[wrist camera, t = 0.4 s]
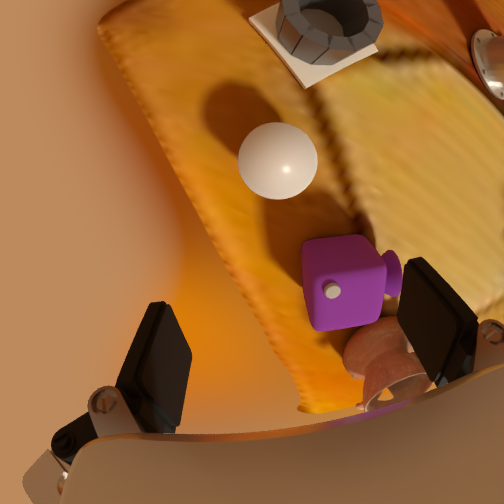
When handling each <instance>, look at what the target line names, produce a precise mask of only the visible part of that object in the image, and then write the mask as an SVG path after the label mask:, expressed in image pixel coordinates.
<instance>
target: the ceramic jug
mask: <svg viewBox="0 0 504 504" xmlns="http://www.w3.org/2000/svg"><path fill="white" fill-rule="evenodd" d="M412 351H413V348H412V346H411V344H410V342H409V341H408V339H407V337H406V335H405V334H404V332H403V330H402V329H401V327H400V325H399V323H398V321H397V316H386V317H381V318H378V319H377V320H376V321H375V322H373V323H370V324H366V325H364V326H362V327H361V328H360V329H358V330H357V331H356V332H355V333H354V334H353V335H352V336H351V337H350V339H349V340H348V342H347V343H346V345H345V349H344V352H343V357H342V360H343V365H344V367H345V369H346V370H347V371H348V372H349V373H350V374H351V375H352V377H353V378H362V379H365V380H364V386H363V401H362V402H361V403H357V404H356V408H357V409H359V410H363V409H364V411H365V412H368V411H372V410H375V409H379V408H382V407H386V406H389V405H392V404H395V403H398V402H401V401H404V400H407V399H410V398H412V397H415V396H418V395H420V394H423V393H425V392H427V391H428V390H429V389H430V388H431V386H432V385H433V383H434V382H431V381H430V379H429V378H428V376H427V374H426V372H425V370H424V368H423V366H422V364H421V362H420V360H419V359H418V357H417V355H416V353H415V352H412ZM385 388H388V389H389V390H390V391H391V393H392V395H393V396H394V398H393V399H391V400H388V401H379V400H377V399H378V398H379V396H380V395H381V393H382V392H383V390H384V389H385Z"/></svg>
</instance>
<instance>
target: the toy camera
mask: <svg viewBox="0 0 504 504" xmlns="http://www.w3.org/2000/svg"><path fill="white" fill-rule="evenodd" d="M301 263H302V281H303V293H304V298H305V302H306V307H307V311H308V315H309V319H310V322H311V325H312V327H313V328H314V329H315V330H316V331H331V330H337V329H344V328H349V327H355V326H361V325H366V324H370V323H373V322H375V321H376V320H377V319H378V318H379V316H380V312H381V308H382V303H383V298H384V293H386V294H388V295H389V296H392V297H396V296H398V295H399V293H400V291H401V287H402V280H403V278H402V269H401V264H400V261H399V259H398V256H397V255H396V253H395V252H394V251H393V250H388V251H386V252H385V253H384V254H383V255H382V256H380V254H379V253H378V252H377V250H376V249H375V248H374V247H373V245H372V244H371V243H370V242H369V241H368V239H367V238H366V237H364V236H363V235H359V234H353V235H343V236H334V237H325V238H318V239H311V240H308V241H305V242H304V243H303V245H302V249H301Z"/></svg>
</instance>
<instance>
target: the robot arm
mask: <svg viewBox="0 0 504 504" xmlns="http://www.w3.org/2000/svg"><path fill="white" fill-rule="evenodd" d="M471 52H472V57H473V61H474V64H475V67H476V70H477V72H478V74H479V76H480V78H481V80H482V82H483V83H484V85H485V87H486V88H487V89H488V90H489V92H490V93H492V94H493V95H494V96H495V97H497V98H499V99H501V100H504V36H497V35H496V34H494V33H493V32H491V31H489V30H486V29H481V30H477V31H476V32H474V34H473V36H472V39H471ZM477 319H478V317H477V316H476V315H475V314H474V312H473V311H472V310H471V309H470V308H469V306H468V305H467V304H466V303H465V302H464V301H463V300H462V298H461V297H460V296H459V295H458V294H457V293H456V292H455V291H454V290H453V288H452V287H451V286H450V285H449V284H448V283H447V282H446V281H445V280H444V279H443V278H442V277H441V276H440V275H439V274H438V273H437V271H436V270H435V269H434V268H433V267H432V266H431V265H430V264H429V263H428V262H427V261H426V260H425V259H424V258H422V257H418V258H413V259H409V260H408V262H407V264H405V266H404V272H403V280H402V287H401V294H400V301H399V307H398V313H397V321H398V323H399V325H400V327H401V329H402V330H403V332H404V334H405V335H406V337H407V339H408V341H409V342H410V344H411V346H412V348H413V350H414V351H415V353H416V355H417V357H418V359H419V360H420V362H421V364H422V366H423V368H424V370H425V372H426V374H427V376H428V378H429V379H430V381H431V382H434V383H435V385H436V387H437V388H436V389H433V390H430V391H428V392H425V393H423V394H420V395H418V396H415V397H412V398H410V399H407V400H404V401H401V402H398V403H395V404H392V405H389V406H386V407H382V408H379V409H375V410H372V411H368V412H365V413H361V414H357V415H354V416H350V417H345V418H341V419H336V420H332V421H327V422H322V423H317V424H311V425H306V426H299V427H293V428H286V429H278V430H269V431H259V432H249V433H248V432H247V433H233V434H232V433H231V434H164V433H175V430H176V426H179V425H180V421H181V415H182V409H183V404H184V399H185V393H186V388H187V382H188V376H189V372H190V366H191V361H192V352H191V349H190V347H189V345H188V343H187V341H186V339H185V337H184V335H183V332H182V330H181V328H180V326H179V324H178V321H177V319H176V317H175V315H174V312H173V310H172V308H171V306H170V305H169V304H166V303H165V302H164V301H161V302H152V303H150V304H149V306H148V308H147V310H146V312H145V315H144V317H143V319H142V321H141V324H140V326H139V328H138V330H137V333H136V335H135V337H134V340H133V342H132V344H131V347H130V349H129V351H128V354H127V356H126V359H125V361H124V363H123V366H122V368H121V371H120V374H119V376H118V378H117V382H116V385H115V387H113V386H103V387H101V388H99V389H97V390H96V391H95V392H94V393H93V394H92V395H91V396H90V398H89V400H88V412H87V413H85V414H84V415H82V416H81V417H79V418H77V419H76V420H74V421H73V422H71V423H69V424H68V425H66V426H64V427H63V428H61V429H60V430H58V431H57V432H56V433H55V435H54V436H53V438H52V441H51V447H52V450H51V451H50V450H49V449H47V450H46V451H45V452H44V454H42V456H41V457H40V458H39V459H38V460H37V461H36V462H35V463H34V464H33V465H32V466H31V467H30V468H29V470H28V471H27V472H26V473H25V475H24V476H23V487H24V489H25V491H26V493H27V494H28V496H29V498H30V499H31V501H32V502H33V503H34V504H504V325H503V324H502V323H501V322H499V321H497V320H493V319H488V320H484V321H483V322H481V323H480V324H479V323H478V322H477ZM447 383H448V384H447ZM442 385H443V386H442ZM440 386H441V387H440Z"/></svg>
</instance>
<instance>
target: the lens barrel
mask: <svg viewBox="0 0 504 504" xmlns="http://www.w3.org/2000/svg"><path fill="white" fill-rule="evenodd" d="M249 23H250V24H251V25H252V26H253V27H254V28H255V29H256V30H257V32H258V33H259V34H260V35H261V36H262V37H263V38H264V39H265V41H266V42H267V43H268V44H269V45H270V46H271V48H272V49H273V50H274V51H275V52H276V54H277V55H278V56H279V57H280V59H281V60H282V61H283V62H284V64H285V65H286V66H287V67H288V69H289V70H290V71H291V73H292V74H293V75H294V77H295V78H296V79H297V81H298V82H299V83H300V85H301V86H302V87H303V89H306V88H308V87H309V86H311V85H313V84H315V83H316V82H318V81H320V80H322V79H324V78H325V77H327V76H329V75H331V74H333V73H335V72H337V71H339V70H341V69H342V68H344V67H346V66H348V65H350V64H352V63H354V62H356V61H358V60H361V59H363V58H365V57H367V56H369V55H371V54H373V53H376V52H378V50H377V48H376V47H375V45H374V44H373V43H374V42H376V40H377V38H378V36H379V34H380V32H381V29H382V27H383V20H382V15H381V10H380V6H379V5H378V2H377V1H376V0H280V2H279V3H277V4H275V5H273V6H271V7H269V8H267V9H265V10H263V11H261V12H259V13H257V14H255V15H253V16H252V17H250V18H249Z"/></svg>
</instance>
